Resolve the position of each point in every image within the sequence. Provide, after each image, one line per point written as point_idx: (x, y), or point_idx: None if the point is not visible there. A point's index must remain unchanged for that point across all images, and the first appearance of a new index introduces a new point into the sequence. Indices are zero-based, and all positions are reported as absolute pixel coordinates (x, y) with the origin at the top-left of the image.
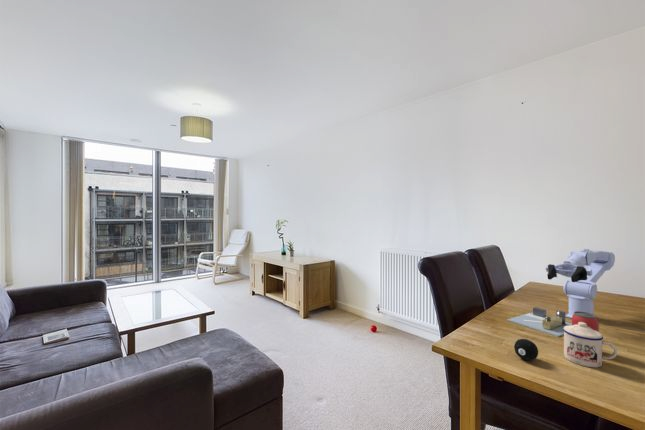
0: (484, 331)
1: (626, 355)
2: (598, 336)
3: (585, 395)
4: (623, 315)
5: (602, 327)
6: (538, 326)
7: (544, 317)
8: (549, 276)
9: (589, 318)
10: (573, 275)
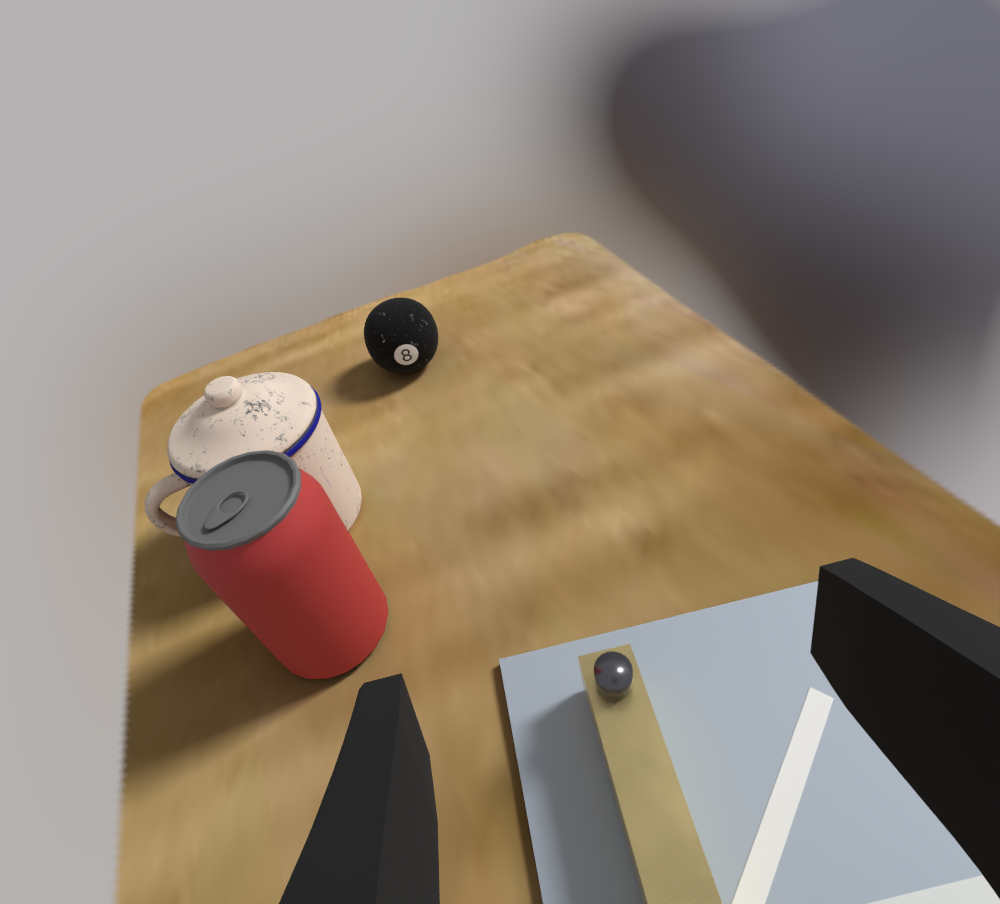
0: (659, 373)
1: (176, 801)
2: (176, 422)
3: (236, 366)
4: None
5: None
6: (669, 681)
7: None
8: (819, 599)
9: (211, 479)
10: (363, 730)
